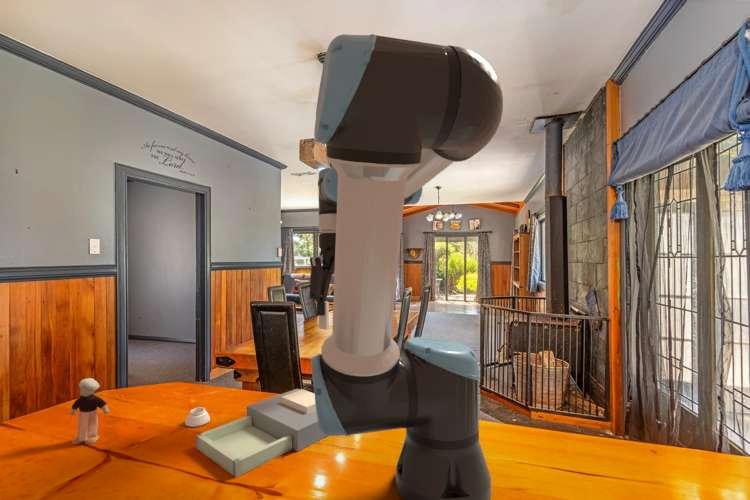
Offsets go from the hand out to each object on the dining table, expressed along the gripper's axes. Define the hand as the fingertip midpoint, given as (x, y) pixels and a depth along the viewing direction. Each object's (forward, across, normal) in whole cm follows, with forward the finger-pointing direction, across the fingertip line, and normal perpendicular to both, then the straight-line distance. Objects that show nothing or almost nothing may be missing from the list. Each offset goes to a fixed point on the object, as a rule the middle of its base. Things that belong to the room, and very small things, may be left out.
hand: (334, 326), depth 91 cm
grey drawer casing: (+20, +12, 0) cm, 23 cm away
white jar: (+20, +25, -18) cm, 37 cm away
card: (+16, +10, 0) cm, 19 cm away
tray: (+20, +24, 0) cm, 32 cm away
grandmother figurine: (+20, +43, -28) cm, 55 cm away
